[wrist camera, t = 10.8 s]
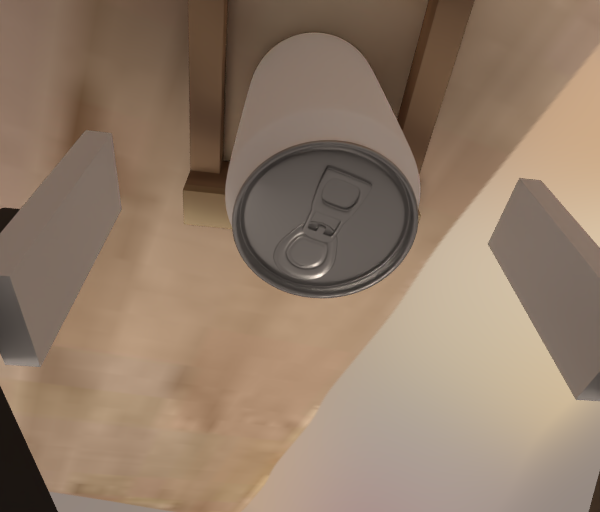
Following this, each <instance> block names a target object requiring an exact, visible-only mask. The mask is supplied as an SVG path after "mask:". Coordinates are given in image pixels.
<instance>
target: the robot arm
mask: <svg viewBox="0 0 600 512" xmlns="http://www.w3.org/2000/svg"><path fill="white" fill-rule="evenodd" d="M120 211H121V201H120V193H119V185H118V177H117V170H116V162H115V154H114V146H113V138H112V133H106V132H97V131H88V130H86V131H85V132H84V133H83V134H82V135H81V137H80V138H79V139H78V140H77V141H76V143H75V144H74V145H73V146H72V147H71V149H70V150H69V151H68V152H67V153H66V155H65V156H64V157H63V158H62V159H61V161H60V162H59V163H58V164H57V165H56V167H55V168H54V169H53V170H52V172H51V173H50V174H49V175H48V176H47V178H46V179H45V180H44V181H43V182H42V184H41V185H40V186H39V187H38V188H37V190H36V191H35V192H34V193H33V194H32V196H31V197H30V198H29V199H28V200H27V202H26V203H25V204H24V205H23V206H22V208H21V209H12V208H2V209H0V353H1V356H2V358H3V360H4V363H5V365H18V366H35V367H41V365H42V363H43V361H44V359H45V357H46V355H47V353H48V351H49V349H50V347H51V346H52V344H53V342H54V340H55V338H56V336H57V334H58V332H59V330H60V328H61V326H62V324H63V322H64V320H65V318H66V316H67V314H68V312H69V311H70V309H71V307H72V305H73V303H74V301H75V299H76V297H77V295H78V293H79V291H80V289H81V287H82V285H83V283H84V281H85V279H86V277H87V276H88V274H89V272H90V270H91V268H92V266H93V264H94V262H95V260H96V258H97V256H98V254H99V252H100V250H101V248H102V246H103V244H104V242H105V240H106V239H107V237H108V235H109V233H110V231H111V229H112V227H113V225H114V223H115V221H116V219H117V217H118V215H119V213H120ZM488 245H489V246H490V249H491V250H492V252H493V254H494V255H495V257H496V259H497V261H498V263H499V265H500V266H501V268H502V270H503V272H504V273H505V275H506V277H507V279H508V280H509V282H510V284H511V286H512V288H513V289H514V291H515V293H516V294H517V296H518V298H519V300H520V302H521V303H522V305H523V307H524V309H525V311H526V312H527V314H528V316H529V318H530V319H531V321H532V323H533V325H534V327H535V328H536V330H537V332H538V333H539V335H540V337H541V339H542V341H543V342H544V344H545V346H546V348H547V349H548V351H549V353H550V355H551V356H552V358H553V360H554V362H555V364H556V365H557V367H558V369H559V371H560V373H561V374H562V376H563V378H564V380H565V381H566V383H567V385H568V387H569V388H570V390H571V392H572V394H573V396H574V397H575V399H576V400H591V401H600V248H599V247H598V245H597V244H596V243H595V242H594V241H593V240H592V239H591V237H590V236H589V235H588V234H587V233H586V232H585V231H584V229H583V228H582V227H581V226H580V225H579V224H578V222H577V221H576V220H575V219H574V218H573V217H572V216H571V214H570V213H569V212H568V211H567V210H566V209H565V208H564V206H563V205H562V204H561V203H560V202H559V201H558V199H557V198H556V197H555V196H554V195H553V194H552V192H551V191H550V190H549V189H548V188H547V187H546V186H545V184H544V183H543V182H542V181H541V180H533V179H523V178H519V180H518V182H517V184H516V186H515V188H514V190H513V192H512V194H511V197H510V199H509V201H508V203H507V205H506V207H505V209H504V211H503V213H502V215H501V218H500V220H499V222H498V224H497V226H496V228H495V230H494V232H493V234H492V236H491V239H490V240H489V243H488ZM0 512H58V511H57V509H56V507H55V504H54V502H53V500H52V498H51V496H50V494H49V491H48V489H47V487H46V485H45V483H44V480H43V478H42V476H41V474H40V472H39V470H38V467H37V465H36V463H35V461H34V459H33V456H32V454H31V452H30V450H29V448H28V446H27V443H26V441H25V439H24V437H23V435H22V432H21V430H20V428H19V426H18V424H17V422H16V419H15V417H14V415H13V413H12V411H11V408H10V406H9V404H8V402H7V400H6V398H5V395H4V393H3V391H2V389H1V387H0ZM589 512H600V472H599V476H598V480H597V483H596V487H595V491H594V494H593V498H592V502H591V505H590V509H589Z"/></svg>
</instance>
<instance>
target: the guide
mask: <svg viewBox="0 0 600 512" xmlns="http://www.w3.org/2000/svg"><path fill="white" fill-rule="evenodd" d="M473 3H474V0H429V2H428V6H427V10H426V14H425V17H424V21H423V25H422V29H421V33H420V36H419V40H418V44H417V48H416V51H415V55H414V59H413V63H412V66H411V70H410V74H409V78H408V81H407V85H406V89H405V93H404V97H403V100H402V104H401V108H400V112H399V115H398V119H397V121H398V123H399V125H400V127H401V129H402V132H403V134H404V136H405V138H406V140H407V142H408V145H409V147H410V149H411V151H412V154H413V156H414V159H415V162H416V165H417V169H418V173H420V170H421V167H422V164H423V161H424V157H425V154H426V151H427V148H428V145H429V142H430V139H431V135H432V132H433V129H434V126H435V123H436V120H437V117H438V113H439V110H440V107H441V104H442V101H443V98H444V95H445V91H446V88H447V85H448V82H449V79H450V76H451V73H452V69H453V66H454V63H455V60H456V57H457V54H458V51H459V47H460V44H461V41H462V38H463V35H464V32H465V29H466V25H467V22H468V19H469V16H470V13H471V10H472V7H473ZM227 11H228V0H188V34H189V102H190V173H189V176H188V178H187V181H186V183H185V186H184V189H183V212H184V224H187V225H197V226H207V227H217V228H226V229H232V226H231V223H230V221H229V218H228V214H227V210H226V202H225V187H226V179H227V173H228V168H229V164H230V162H228V161H223V137H224V106H225V74H226V42H227ZM420 217H421V215H420V212H419V210H418V223H419V220H420Z"/></svg>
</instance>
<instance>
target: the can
mask: <svg viewBox="0 0 600 512" xmlns="http://www.w3.org/2000/svg"><path fill="white" fill-rule="evenodd" d="M225 202H226V210H227V214H228V218H229V221H230V223H231V226H232V231H233V237H234V241H235V244H236V247H237V249H238V251H239V253H240V255H241V257H242V258H243V260H244V261H245V263H246V264H247V265H248V267H249V268H250V269H251V270H252V271H253V272H254V273H255V274H256V275H257V276H258V277H260V278H261V279H262V280H264V281H265V282H267V283H268V284H270V285H272V286H273V287H275V288H277V289H280V290H282V291H284V292H287V293H290V294H294V295H298V296H303V297H310V298H334V297H341V296H346V295H350V294H354V293H357V292H360V291H362V290H365V289H367V288H369V287H371V286H373V285H375V284H377V283H378V282H380V281H381V280H383V279H384V278H386V277H387V276H388V275H389V274H391V273H392V272H393V271H394V270H395V269H396V268H397V267H398V266H399V265H400V264H401V262H402V261H403V260H404V258H405V257H406V255H407V254H408V252H409V250H410V249H411V247H412V244H413V242H414V239H415V236H416V233H417V228H418V207H419V202H420V178H419V173H418V169H417V165H416V162H415V159H414V156H413V154H412V151H411V149H410V147H409V145H408V142H407V140H406V138H405V136H404V134H403V132H402V129H401V127H400V125H399V123H398V121H397V119H396V117H395V115H394V113H393V111H392V109H391V106H390V104H389V102H388V100H387V98H386V96H385V94H384V92H383V90H382V88H381V86H380V84H379V82H378V80H377V78H376V76H375V74H374V72H373V70H372V68H371V66H370V65H369V63H368V62H367V60H366V59H365V57H364V56H363V55H362V54H361V53H360V52H359V51H358V50H357V49H356V48H355V47H354V46H353V45H351V44H350V43H348V42H347V41H345V40H343V39H341V38H339V37H336V36H334V35H330V34H326V33H303V34H299V35H295V36H292V37H290V38H287V39H285V40H283V41H282V42H280V43H278V44H277V45H276V46H274V47H273V48H272V49H271V50H270V51H269V52H268V53H267V54H266V55H265V56H264V57H263V59H262V60H261V61H260V63H259V64H258V66H257V68H256V70H255V72H254V74H253V77H252V80H251V83H250V86H249V90H248V93H247V97H246V101H245V105H244V108H243V112H242V116H241V120H240V124H239V128H238V131H237V135H236V139H235V143H234V147H233V151H232V155H231V160H230V164H229V168H228V173H227V179H226V187H225Z"/></svg>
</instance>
